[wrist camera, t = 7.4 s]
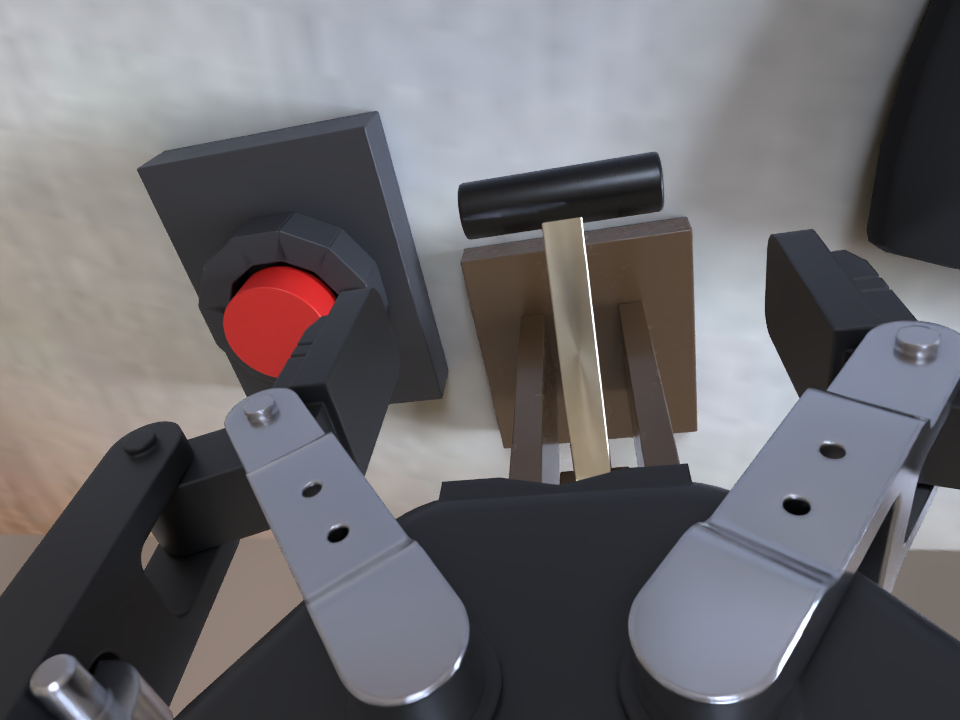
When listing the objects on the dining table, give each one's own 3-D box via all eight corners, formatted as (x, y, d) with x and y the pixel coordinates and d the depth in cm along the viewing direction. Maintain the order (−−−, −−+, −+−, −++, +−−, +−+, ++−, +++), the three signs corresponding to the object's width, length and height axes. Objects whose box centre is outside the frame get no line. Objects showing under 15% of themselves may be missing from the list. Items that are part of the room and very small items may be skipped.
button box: (163, 150, 27) (109, 185, 23) (378, 110, 25) (352, 141, 22) (272, 390, 33) (242, 444, 30) (448, 370, 31) (436, 425, 28)
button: (224, 272, 25) (204, 295, 24) (323, 258, 25) (308, 280, 23) (263, 359, 27) (247, 384, 26) (355, 348, 27) (343, 373, 25)
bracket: (463, 248, 28) (410, 458, 17) (686, 215, 26) (777, 426, 16) (505, 431, 33) (483, 676, 23) (692, 413, 32) (763, 669, 21)
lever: (466, 183, 20) (450, 184, 17) (653, 153, 19) (662, 148, 16) (523, 551, 23) (516, 592, 20) (688, 541, 22) (700, 584, 19)
